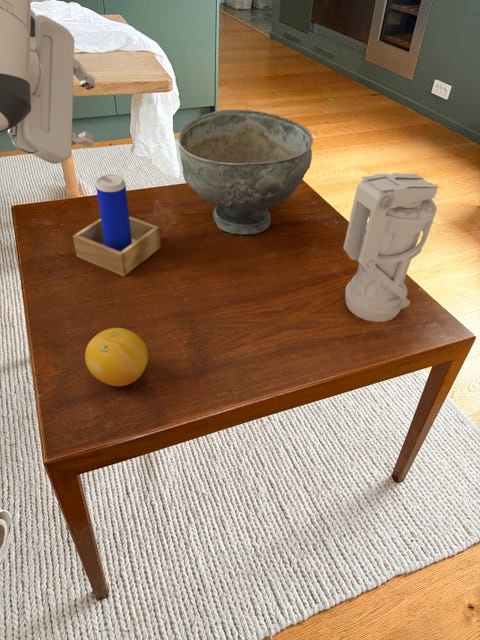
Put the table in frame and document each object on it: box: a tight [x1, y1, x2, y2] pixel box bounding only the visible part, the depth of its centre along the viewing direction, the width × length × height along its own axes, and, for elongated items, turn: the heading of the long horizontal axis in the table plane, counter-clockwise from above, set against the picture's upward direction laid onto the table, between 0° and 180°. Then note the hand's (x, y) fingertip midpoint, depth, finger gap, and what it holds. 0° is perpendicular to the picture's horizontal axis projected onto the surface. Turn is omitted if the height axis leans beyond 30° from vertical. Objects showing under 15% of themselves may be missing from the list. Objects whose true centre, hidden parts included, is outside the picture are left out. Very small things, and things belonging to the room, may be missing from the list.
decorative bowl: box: [177, 108, 314, 235], centre depth 104 cm, size 26×26×20 cm
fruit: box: [84, 327, 149, 387], centre depth 72 cm, size 9×8×8 cm
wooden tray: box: [72, 215, 162, 277], centre depth 97 cm, size 12×12×5 cm
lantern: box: [343, 172, 439, 323], centre depth 81 cm, size 13×10×25 cm
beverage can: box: [95, 174, 132, 252], centre depth 93 cm, size 5×5×15 cm
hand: (91, 112), depth 80 cm, fingers open, 8 cm apart
